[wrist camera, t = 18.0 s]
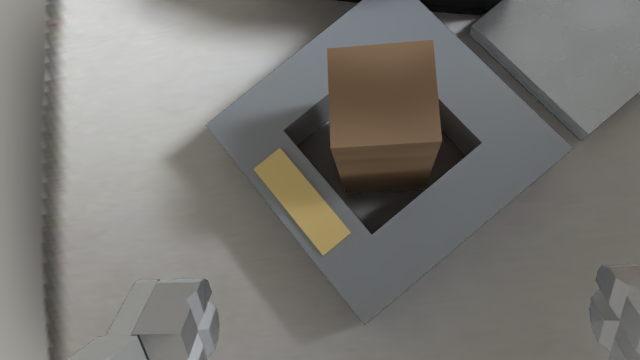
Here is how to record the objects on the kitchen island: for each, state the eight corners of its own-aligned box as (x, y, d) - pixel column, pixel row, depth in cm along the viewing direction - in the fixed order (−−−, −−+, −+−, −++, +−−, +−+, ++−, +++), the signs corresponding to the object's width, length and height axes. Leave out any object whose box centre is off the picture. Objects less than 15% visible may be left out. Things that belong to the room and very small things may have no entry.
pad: (697, 41, 26) (710, 32, 25) (581, 140, 25) (588, 134, 24) (579, -56, 28) (586, -69, 27) (469, 34, 27) (472, 24, 26)
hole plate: (551, 165, 25) (574, 147, 22) (366, 322, 25) (364, 325, 21) (392, 8, 28) (393, -28, 25) (223, 144, 28) (203, 124, 24)
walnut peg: (424, 189, 26) (442, 141, 18) (345, 193, 26) (330, 148, 18) (418, 115, 27) (433, 39, 19) (342, 120, 27) (327, 48, 19)
